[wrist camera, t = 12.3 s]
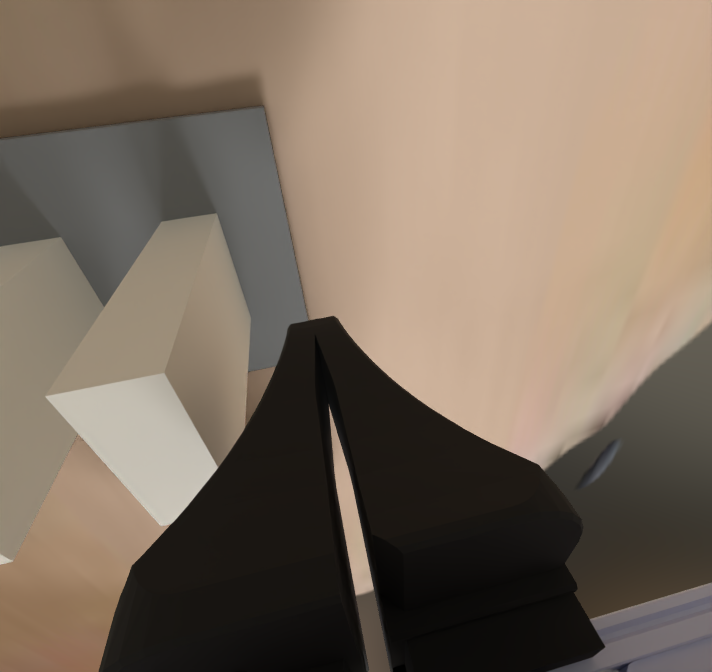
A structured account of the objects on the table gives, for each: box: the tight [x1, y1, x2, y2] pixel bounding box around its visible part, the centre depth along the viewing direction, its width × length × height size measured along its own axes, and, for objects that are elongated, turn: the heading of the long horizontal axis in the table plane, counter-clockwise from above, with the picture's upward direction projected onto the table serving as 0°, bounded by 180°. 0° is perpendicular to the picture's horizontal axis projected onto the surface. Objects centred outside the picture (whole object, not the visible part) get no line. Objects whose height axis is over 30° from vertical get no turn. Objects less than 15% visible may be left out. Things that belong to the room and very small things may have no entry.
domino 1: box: [0, 237, 104, 565], centre depth 11 cm, size 2×5×9 cm, turn 5°
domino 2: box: [45, 213, 251, 526], centre depth 11 cm, size 2×5×9 cm, turn 5°
